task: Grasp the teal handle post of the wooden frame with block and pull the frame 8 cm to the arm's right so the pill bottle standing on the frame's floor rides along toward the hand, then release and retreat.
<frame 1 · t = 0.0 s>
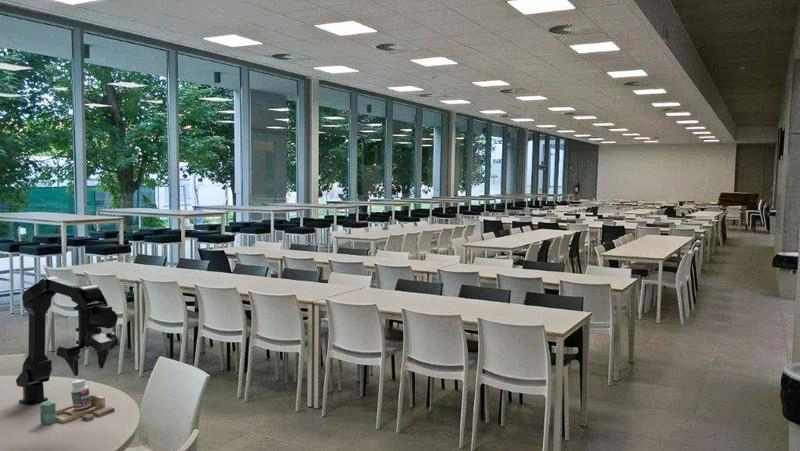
hand: (88, 372, 204), 15 cm above the table, fingers open, 9 cm apart
wooden frame with block: (70, 405, 206), point 3 cm above the table, slide at 0.0 cm, touching pill bottle
pill bottle: (82, 407, 210), point 1 cm above the table, touching wooden frame with block
broken walnut strip: (98, 415, 206), on the table
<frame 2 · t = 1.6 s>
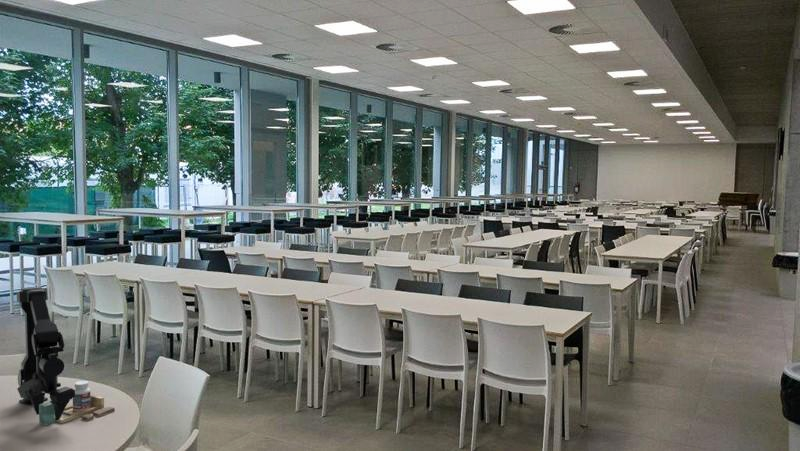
hand: (47, 417, 199), 2 cm above the table, fingers open, 9 cm apart
wooden frame with block: (69, 405, 206), point 3 cm above the table, slide at 0.4 cm, touching pill bottle
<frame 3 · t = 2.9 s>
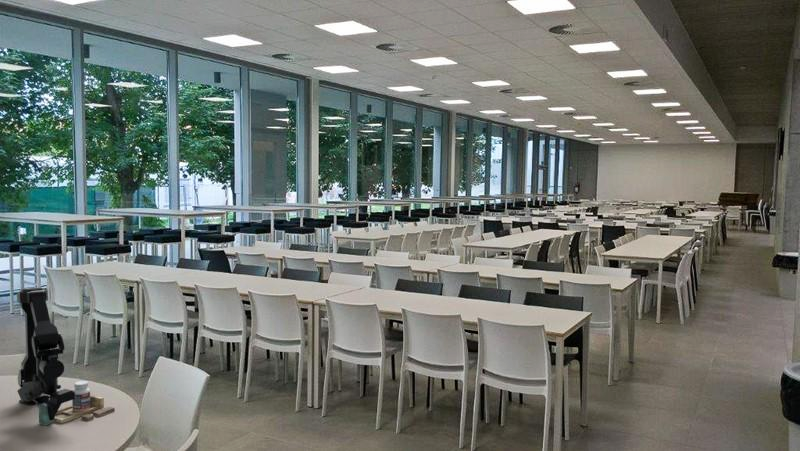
hand: (48, 419, 199), 1 cm above the table, fingers closed on wooden frame with block, 3 cm apart
wooden frame with block: (69, 405, 205), point 3 cm above the table, slide at 0.5 cm, touching gripper, pill bottle
everything else where it was.
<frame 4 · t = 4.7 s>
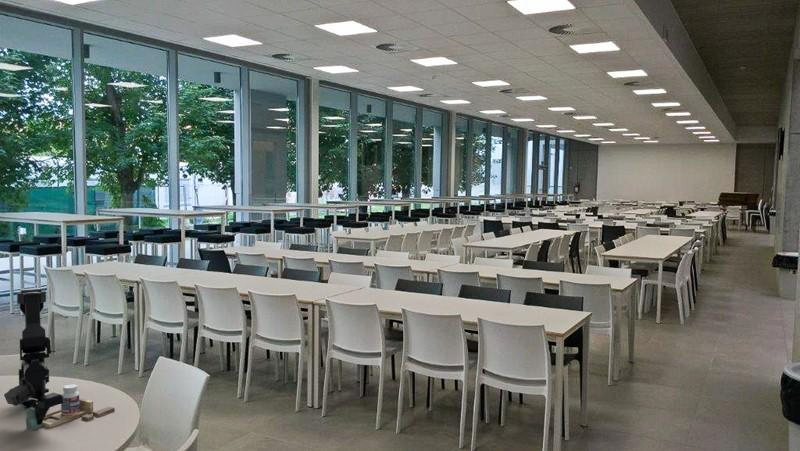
hand: (35, 423, 195), 1 cm above the table, fingers closed on wooden frame with block, 3 cm apart
wooden frame with block: (57, 409, 202), point 3 cm above the table, slide at 4.6 cm, touching gripper, pill bottle
pill bottle: (70, 413, 206), resting on wooden frame with block
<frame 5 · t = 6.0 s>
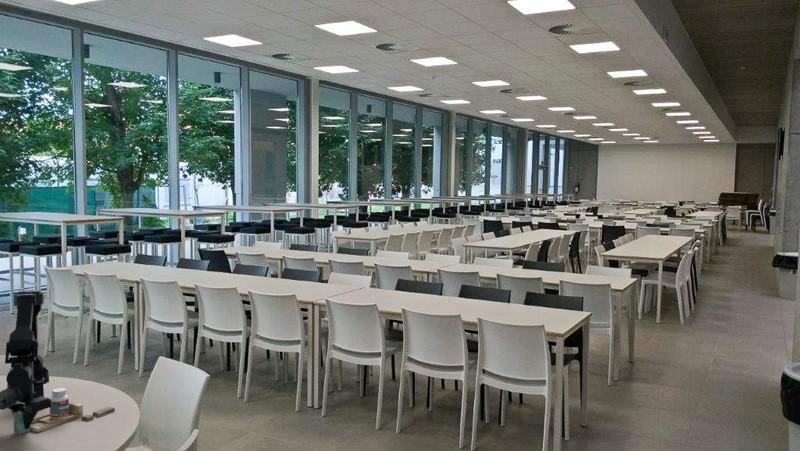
hand: (23, 427, 192), 1 cm above the table, fingers closed on wooden frame with block, 3 cm apart
wooden frame with block: (46, 413, 198), point 3 cm above the table, slide at 8.5 cm, touching gripper, pill bottle
pill bottle: (59, 417, 203), resting on wooden frame with block
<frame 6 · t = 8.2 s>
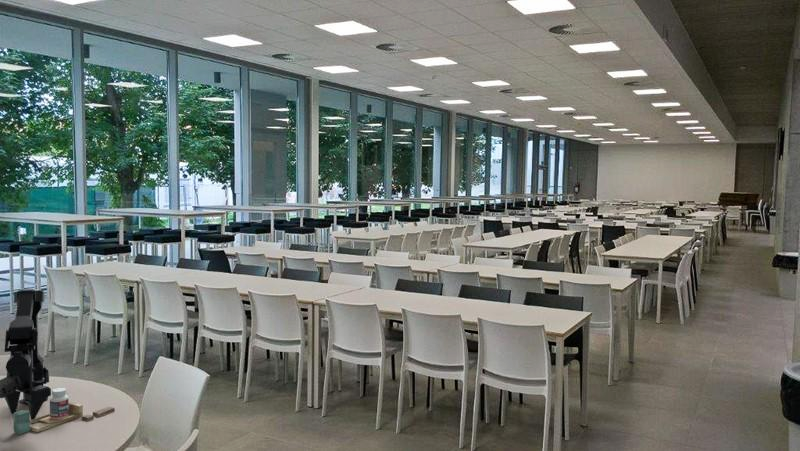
hand: (23, 416, 191), 5 cm above the table, fingers open, 9 cm apart
wooden frame with block: (46, 413, 198), point 3 cm above the table, slide at 8.5 cm, touching pill bottle
everything else where it was.
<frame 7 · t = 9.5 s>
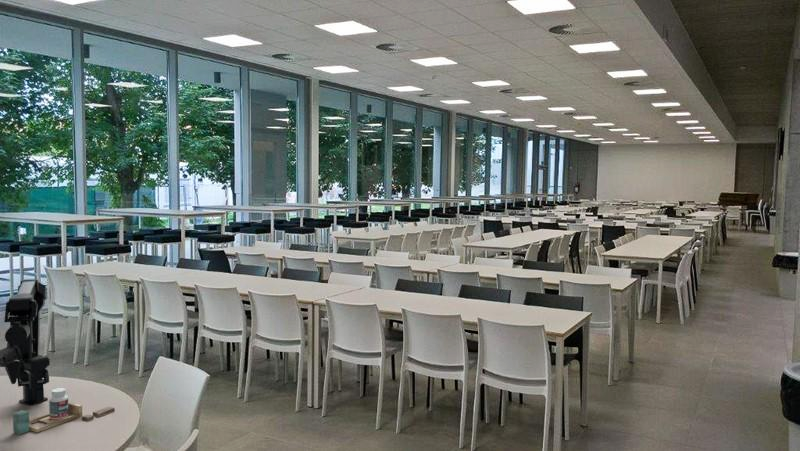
hand: (22, 386, 197), 12 cm above the table, fingers open, 9 cm apart
nothing on the table moved.
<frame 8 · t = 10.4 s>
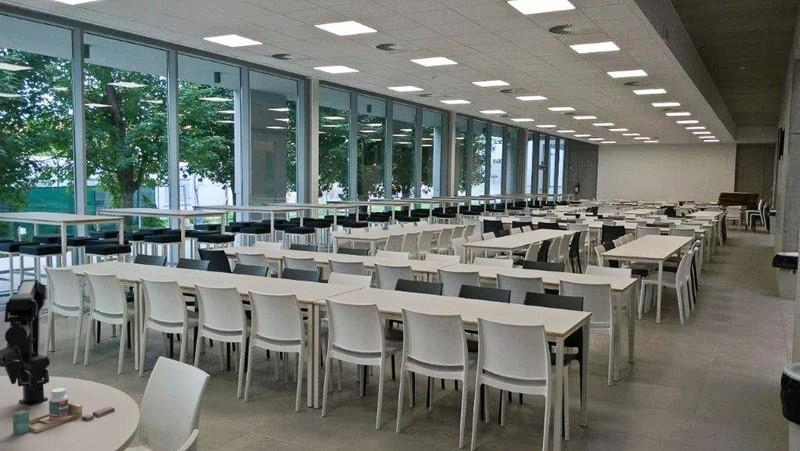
hand: (22, 386, 197), 12 cm above the table, fingers open, 9 cm apart
nothing on the table moved.
at the end: wooden frame with block slide at 8.7 cm; pill bottle inside the target area (0.3 cm from its centre), resting on wooden frame with block; pill bottle tilted 0° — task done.
